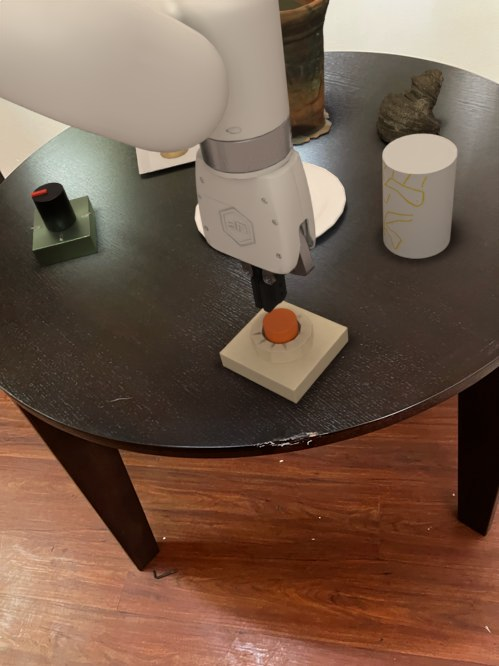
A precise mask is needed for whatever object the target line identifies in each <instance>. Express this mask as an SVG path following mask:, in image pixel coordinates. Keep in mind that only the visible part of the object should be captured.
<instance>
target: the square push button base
mask: <svg viewBox="0 0 499 666" xmlns="http://www.w3.org/2000/svg"><path fill="white" fill-rule="evenodd" d="M278 308H286V309H289V310H291V311H293V312H294V313H295V315H296V317H297V323H298V334H297V336H296V337H295V338H294V339H293V340H291V341H289V342H287V343H283V344H277V343H273V342H271V341H269V340H268V339H267V338H266V336H265V332H264V328H263V318H264V316H265V315H266V314H267V313H268V312H266V311H264V309H259V311H258V313H256V314H255V315H254V316H253V318H251V320H250V321H249V322H248V323H247V324H246V325H245V326H243V328H242V329H241V330H240V331H239V332H238V333H237V334H236V335H235V336H234V337H233V338H232V339H231V340H230V341H229V342H228V343H227V345H226V346H225V347H224V348H223V349H222V350H220V351H219V356H220V360H221V363H222V366H223V367H224V368H227V369H228V370H230V371H232V372H233V373H236V374H238V375H240V376H242V377H244V378H245V379H247V380H250V381H252V382H253V383H255V384H258V385H260V386H262V388H263V387H264V388H265V389H267V390H269V391H271V392H273V393H275V394H277V395H279V396H281V397H283V398H285V399H286V400H289V401H291V402H293V403H294V404H298V402H299V401H300V400H301V399H302V398H303V396H304V395H305V394H306V393H307V392H308V390H310V388H311V387H312V386H313V384H314V383H315V382H316V380H318V378H319V377H320V376H321V375H322V374H323V372H324V371H325V370H326V369H327V368H328V367H329V365H330V364H331V362H333V360H334V359H335V358H336V357H337V356H338V354H339V353H340V352H341V351H342V349H343V348H344V347H345V346H346V345H347V343H348V342H349V332H348V331H349V330H348V327H347V326H345V325H342V324H340V323H337V322H335V321H332V320H330V319H329V318H326V317H324V316H320V315H319V314H316V313H314V312H311V311H309V310H306V309H305V308H302V307H299V306H297V305H295V304H292V303H289V302H288V301H285V300H284V301H283V302H282V303H280V304H278V305H277V306H276V307H275V308H274V309H278ZM274 309H273V310H274Z"/></svg>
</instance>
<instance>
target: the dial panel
mask: <svg viewBox="0 0 499 666" xmlns="http://www.w3.org/2000/svg"><path fill="white" fill-rule="evenodd" d="M69 201H70V203H71V206H72V208H73V210H74V213H75V215H76V220H75V222H74V223H73V224H72V225H71V226H70V227H68V228H66V229H64V230H60V231H50V230H48V229H47V228H46V226H45V224H44V222H43V220H42V218H41V216H40V214H39V212H38V210H37V208H34V209H33V212H34V213H33V227H30V231H32V253H33V255H34V257H35V259H36V260H37V262H38V264H39V267H40V268H42V267H47V266H51V265H55V264H59V263H61V262H65V261H69V260H73V259H77V258H81V257H85V256H88V255H93V254H96V253H98V244H97V243H98V242H97V241H98V240H97V229H96V214H95V210H94V209H95V208H94V207H93V204H92V201H91V200H90V197H89V196H88V195H84V196H80V197H76V198H72V199H69Z"/></svg>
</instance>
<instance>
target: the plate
mask: <svg viewBox="0 0 499 666" xmlns="http://www.w3.org/2000/svg"><path fill="white" fill-rule="evenodd" d="M302 164H303V167H304V171H305V174H306V178H307V182H308V186H309V191H310V196H311V201H312V207H313V213H314V221H315V233H316V239H318V238H321V236H323V235H325V233H326V232H328V231H329V230H330V229H332V228H333V227H334V226H335V224H336V223H337V222H338V220H340V218H341V216H342V215H343V213H344V209H345V206H346V202H347V197H346V190H345V187H344V186H343V185H344V184H343V183H342V182H341V180H340V179H339V178H338V176H337V175H335V174H333V173H332V172H330V171H329V170H327V169H326V168H324V167H321V166H319V165H317V164H313V163H310V162H305V161H302ZM194 221H195V224H196V228H197V230H198V232H199V233H200V234H201V235H202V236H203V238H205V235H204V231H203V227H202V222H201V217H200V211H199V205H198V203H196V205H195V211H194Z"/></svg>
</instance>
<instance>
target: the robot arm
mask: <svg viewBox="0 0 499 666" xmlns="http://www.w3.org/2000/svg"><path fill="white" fill-rule="evenodd" d="M0 98H1V99H3V100H5V101H8V102H10V103H12V104H14V105H17V106H18V107H21V108H24V109H26V110H28V111H31V112H33V113H36V114H38V115H41V116H43V117H45V118H48V119H51V120H53V121H55V122H58V123H61V124H63V125H65V126H69V127H72V128H74V129H77V130H80V131H83V132H86V133H89V134H92V135H95V136H99V137H102V138H105V139H108V140H112V141H114V142H118V143H121V144H125V145H127V146H130V147H133V148H136V147H137V148H140V149H143V150H147V151H153V152H164V153H172V152H178V151H183V150H186V149H189V148H192V147H194V146H196V145H198V144H199V145H200V148H199V149H198V150H197V153H196V162H195V164H194V165H195V168H194V169H195V177H194V178H195V189H196V196H197V197H196V198H197V204H198V205H199V211H200V217H201V222H202V227H203V231H204V235H205V237H204V239H205V240H206V242H207V244H208V245H209V246H211V247H212V248H213V249H215V250H216V251H219V252H220V253H222V254H225V255H228V256H230V257H233V258H235V259H236V260H239V263H240V265H241V268H242V271H243V273H244V274H245V275H246V276H247V277H249V278H250V284H251V289H252V290H251V291H252V295H253V300H254V305H255V308H257V309H259V310H261V309H264V311H266V312H268V313H270V312H271V311H272V310H273V309H274V308H275V307H276V306H277V305H278V304H280V303H282V302H283V301H285V300H286V297H287V294H288V291H287V284H286V283H287V282H286V275H288V274H291V275H293V276H300V277H307V276H308V275H309V274H310V273H311V272H312V271H313V270H314V269H315V268H316V267H315V263H314V260H313V256H312V254H311V253H312V252H311V250H314V249H315V246H316V240H317V238H316V233H315V221H314V213H313V207H312V201H311V196H310V191H309V186H308V182H307V178H306V174H305V171H304V167H303V164H302V162H303V161H302V158H301V155H300V153H299V151H298V150H297V149H295V148H294V144H293V140H292V130H291V120H290V111H289V100H288V90H287V81H286V71H285V61H284V51H283V42H282V32H281V22H280V12H279V3H278V0H0Z"/></svg>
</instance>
